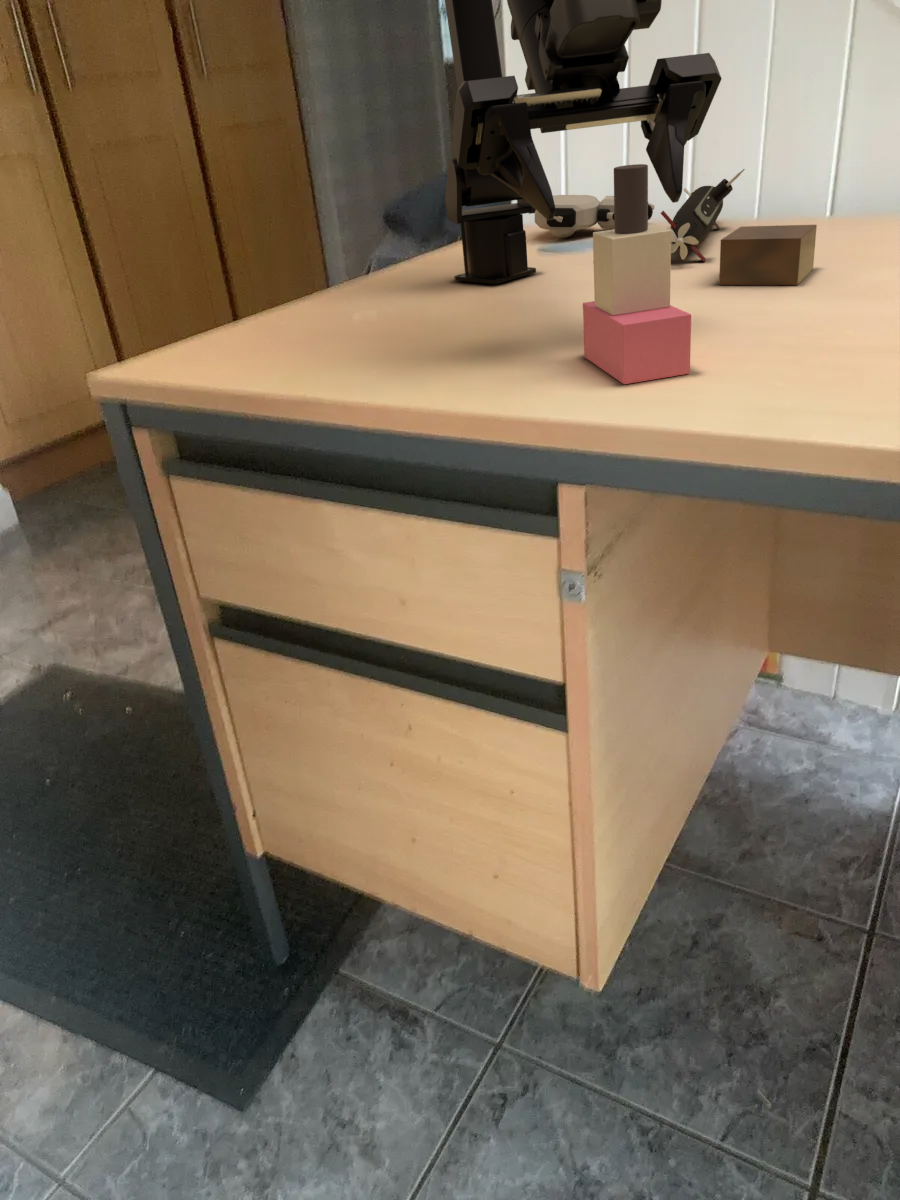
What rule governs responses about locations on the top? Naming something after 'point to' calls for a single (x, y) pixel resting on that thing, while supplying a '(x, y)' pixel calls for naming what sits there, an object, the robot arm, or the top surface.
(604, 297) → the pink and tan tower
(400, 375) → the top surface
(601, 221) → the robot toy
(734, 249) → the block
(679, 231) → the submarine model
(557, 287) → the top surface
